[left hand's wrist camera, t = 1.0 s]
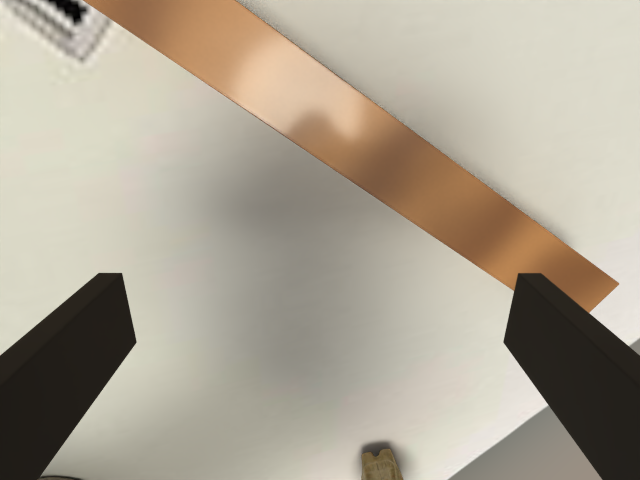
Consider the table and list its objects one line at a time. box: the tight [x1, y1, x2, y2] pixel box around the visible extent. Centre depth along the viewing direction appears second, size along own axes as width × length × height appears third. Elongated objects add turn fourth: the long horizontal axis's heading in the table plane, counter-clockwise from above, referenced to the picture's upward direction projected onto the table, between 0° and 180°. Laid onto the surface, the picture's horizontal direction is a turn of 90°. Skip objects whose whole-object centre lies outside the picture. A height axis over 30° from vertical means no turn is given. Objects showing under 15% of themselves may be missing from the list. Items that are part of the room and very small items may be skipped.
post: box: [83, 0, 619, 313], centre depth 25 cm, size 75×5×7 cm, turn 56°
